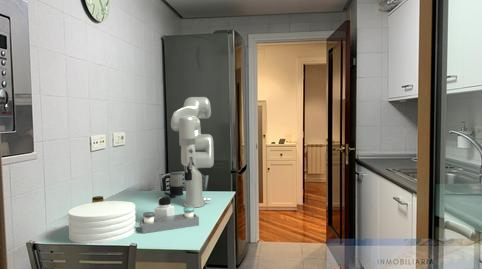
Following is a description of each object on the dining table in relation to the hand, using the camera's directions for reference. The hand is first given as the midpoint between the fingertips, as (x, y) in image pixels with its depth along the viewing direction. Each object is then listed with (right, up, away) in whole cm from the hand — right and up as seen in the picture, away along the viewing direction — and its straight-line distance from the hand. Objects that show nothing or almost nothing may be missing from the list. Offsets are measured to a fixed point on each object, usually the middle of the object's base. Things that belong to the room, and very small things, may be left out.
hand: (188, 180), depth 167 cm
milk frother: (-19, -19, +65) cm, 70 cm away
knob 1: (-17, -21, -8) cm, 28 cm away
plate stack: (-37, -23, -11) cm, 45 cm away
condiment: (-47, -22, +10) cm, 52 cm away
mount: (-8, -22, -4) cm, 23 cm away
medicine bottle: (-13, -22, +6) cm, 26 cm away
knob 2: (0, -21, 0) cm, 21 cm away
